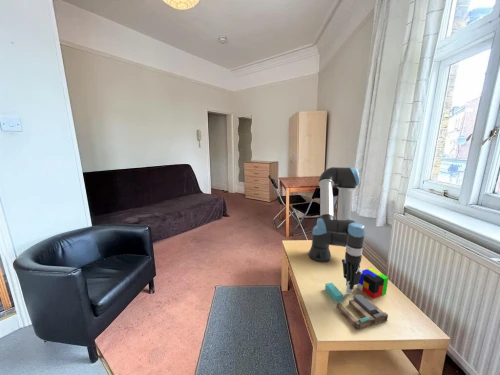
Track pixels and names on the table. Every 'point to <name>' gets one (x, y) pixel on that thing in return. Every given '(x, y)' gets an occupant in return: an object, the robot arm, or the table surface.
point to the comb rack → (362, 315)
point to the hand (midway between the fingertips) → (349, 292)
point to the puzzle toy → (373, 283)
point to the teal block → (334, 292)
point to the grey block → (365, 304)
